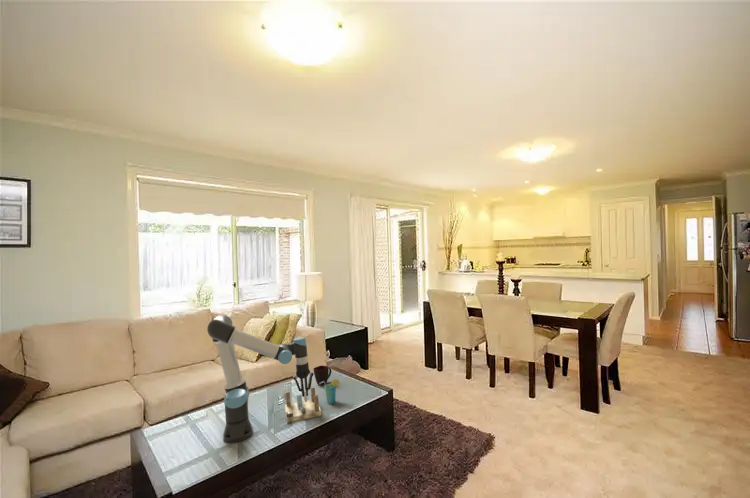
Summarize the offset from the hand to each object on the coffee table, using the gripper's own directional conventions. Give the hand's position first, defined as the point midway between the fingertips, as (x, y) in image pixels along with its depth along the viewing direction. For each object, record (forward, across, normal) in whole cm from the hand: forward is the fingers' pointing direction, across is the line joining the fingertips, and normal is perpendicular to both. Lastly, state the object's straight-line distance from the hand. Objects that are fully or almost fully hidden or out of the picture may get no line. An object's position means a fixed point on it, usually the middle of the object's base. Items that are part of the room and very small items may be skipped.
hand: (305, 401), depth 220 cm
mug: (+7, +21, +42) cm, 47 cm away
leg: (+3, -3, -3) cm, 6 cm away
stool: (+6, -2, +1) cm, 7 cm away
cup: (+7, +16, +5) cm, 18 cm away
